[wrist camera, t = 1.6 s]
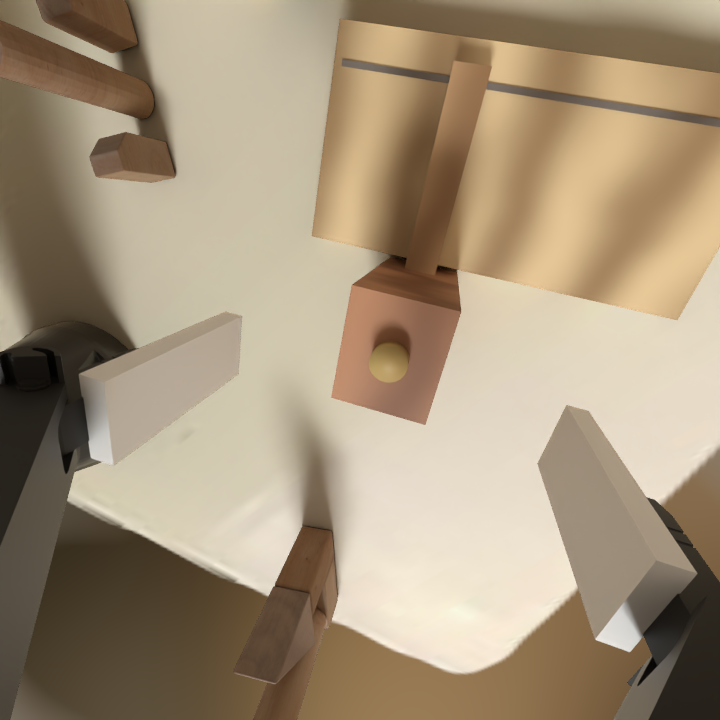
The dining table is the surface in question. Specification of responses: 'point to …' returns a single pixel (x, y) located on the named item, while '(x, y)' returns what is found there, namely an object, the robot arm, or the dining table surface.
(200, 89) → the dining table surface
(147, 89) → the wood blocks
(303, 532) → the wooden post assembly
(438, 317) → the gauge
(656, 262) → the board
